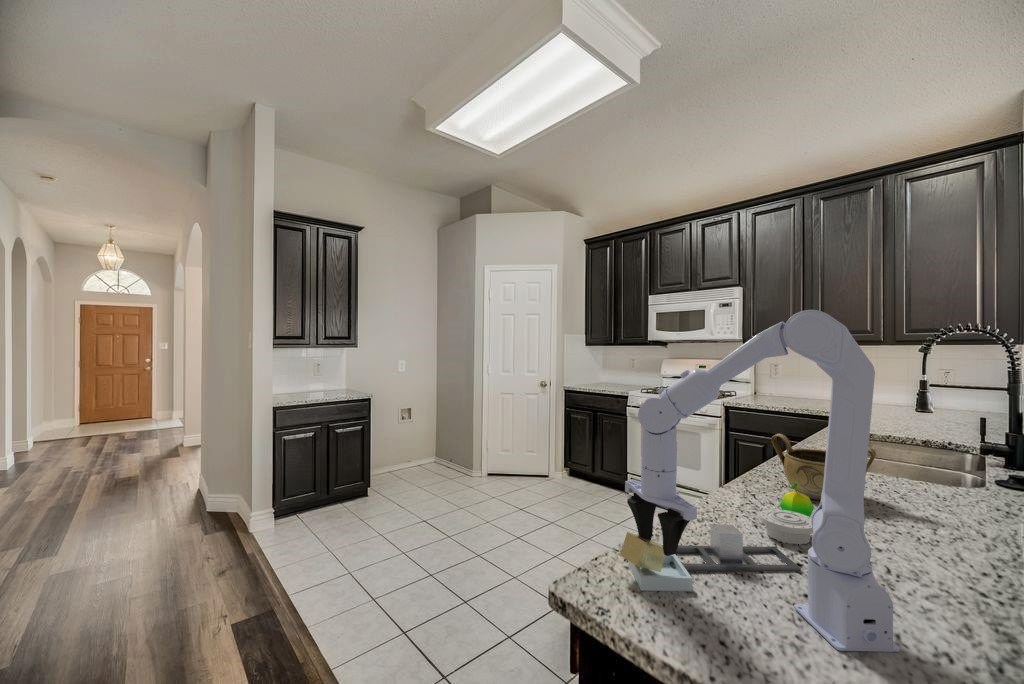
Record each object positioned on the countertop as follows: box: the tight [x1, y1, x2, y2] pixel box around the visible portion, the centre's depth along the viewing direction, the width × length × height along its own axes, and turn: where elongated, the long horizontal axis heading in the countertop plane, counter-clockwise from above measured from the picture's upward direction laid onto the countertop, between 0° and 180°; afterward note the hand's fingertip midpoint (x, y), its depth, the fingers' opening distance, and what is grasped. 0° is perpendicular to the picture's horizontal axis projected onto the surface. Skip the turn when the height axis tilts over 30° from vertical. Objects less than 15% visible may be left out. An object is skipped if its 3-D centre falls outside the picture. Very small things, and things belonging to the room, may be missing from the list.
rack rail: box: [661, 544, 802, 573], centre depth 81 cm, size 8×22×1 cm, turn 88°
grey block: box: [709, 523, 744, 564], centre depth 81 cm, size 4×4×6 cm
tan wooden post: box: [619, 531, 666, 572], centre depth 76 cm, size 4×4×6 cm
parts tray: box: [628, 554, 693, 592], centre depth 75 cm, size 8×8×2 cm
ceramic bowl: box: [771, 433, 877, 502], centre depth 115 cm, size 22×17×15 cm
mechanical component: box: [759, 508, 813, 546], centre depth 91 cm, size 10×4×10 cm
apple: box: [779, 481, 815, 518], centre depth 99 cm, size 7×6×9 cm
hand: (657, 546), depth 76 cm, fingers open, 5 cm apart
